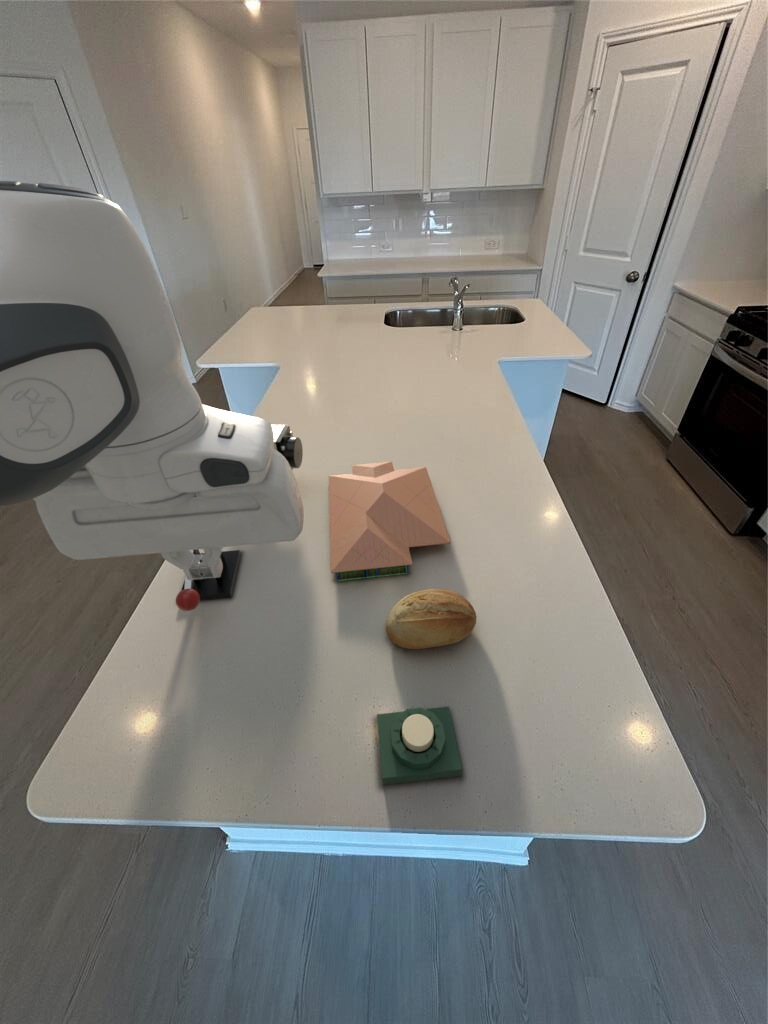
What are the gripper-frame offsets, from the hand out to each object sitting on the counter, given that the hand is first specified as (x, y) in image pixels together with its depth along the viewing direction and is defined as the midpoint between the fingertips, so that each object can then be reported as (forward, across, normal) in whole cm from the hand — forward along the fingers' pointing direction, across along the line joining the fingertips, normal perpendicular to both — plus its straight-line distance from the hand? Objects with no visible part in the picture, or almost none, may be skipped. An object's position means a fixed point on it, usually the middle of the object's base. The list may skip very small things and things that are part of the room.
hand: (206, 573), depth 42 cm
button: (+27, +20, -6) cm, 34 cm away
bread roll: (+31, +25, +12) cm, 42 cm away
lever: (+24, -14, +24) cm, 37 cm away
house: (+31, +20, +41) cm, 55 cm away
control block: (+31, +20, -6) cm, 37 cm away
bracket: (+31, -14, +29) cm, 45 cm away
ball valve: (+31, -6, +55) cm, 64 cm away
